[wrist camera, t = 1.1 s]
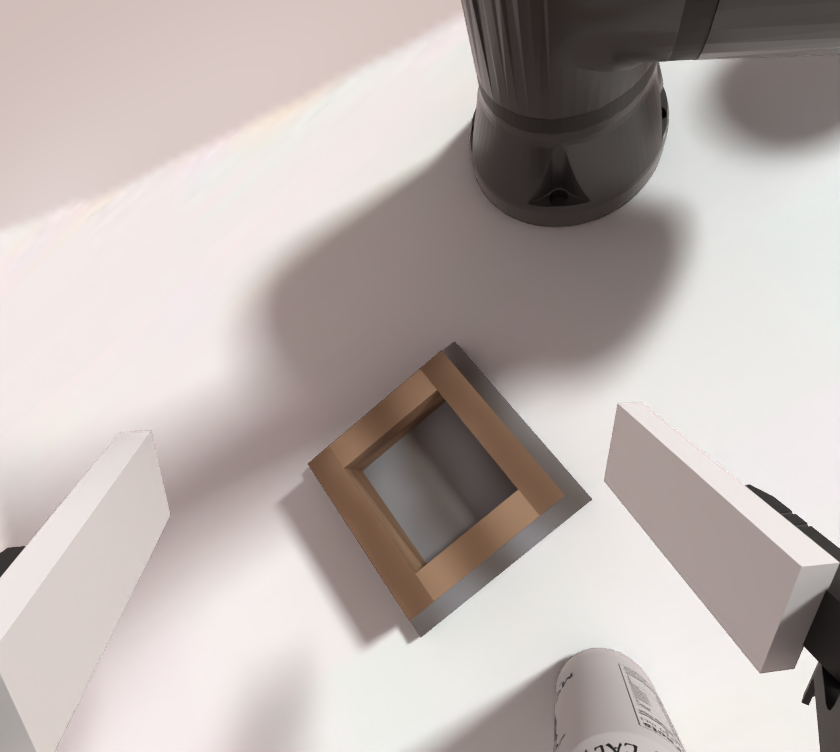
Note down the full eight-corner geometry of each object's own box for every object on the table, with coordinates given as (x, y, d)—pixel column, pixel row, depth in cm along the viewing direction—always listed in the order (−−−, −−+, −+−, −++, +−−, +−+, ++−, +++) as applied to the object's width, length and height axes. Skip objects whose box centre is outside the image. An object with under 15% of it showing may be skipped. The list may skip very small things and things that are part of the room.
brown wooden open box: (457, 345, 40) (444, 326, 36) (591, 499, 35) (595, 499, 30) (315, 465, 41) (285, 461, 36) (425, 633, 36) (405, 651, 31)
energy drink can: (545, 650, 33) (533, 757, 19) (639, 637, 32) (699, 742, 18) (569, 755, 32) (575, 956, 18) (670, 746, 30) (762, 954, 16)
